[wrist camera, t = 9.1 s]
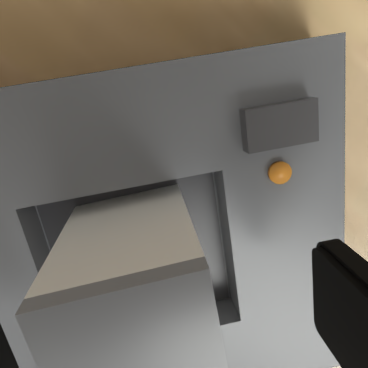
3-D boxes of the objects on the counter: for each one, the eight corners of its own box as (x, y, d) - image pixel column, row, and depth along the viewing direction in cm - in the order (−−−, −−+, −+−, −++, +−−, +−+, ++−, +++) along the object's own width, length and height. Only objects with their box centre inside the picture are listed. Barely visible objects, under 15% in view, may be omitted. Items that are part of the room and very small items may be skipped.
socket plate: (312, 41, 12) (357, 28, 9) (319, 332, 16) (352, 375, 14) (-133, 112, 11) (-217, 120, 8) (5, 406, 15) (-22, 469, 12)
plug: (177, 184, 12) (209, 268, 6) (198, 289, 14) (239, 432, 8) (75, 206, 12) (14, 315, 6) (109, 311, 13) (85, 475, 8)
